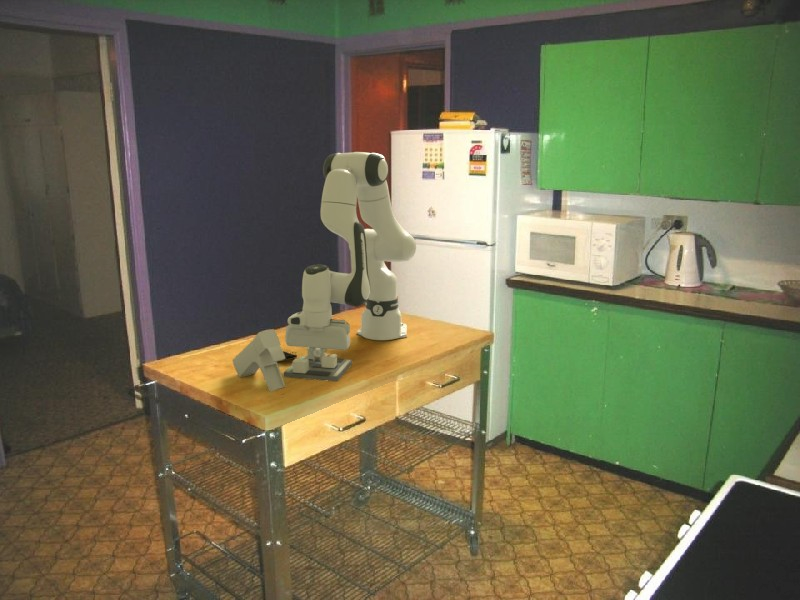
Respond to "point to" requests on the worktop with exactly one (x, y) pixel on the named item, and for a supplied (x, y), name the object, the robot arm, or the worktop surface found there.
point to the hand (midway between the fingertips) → (318, 361)
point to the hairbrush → (289, 355)
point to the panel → (321, 370)
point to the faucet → (262, 359)
